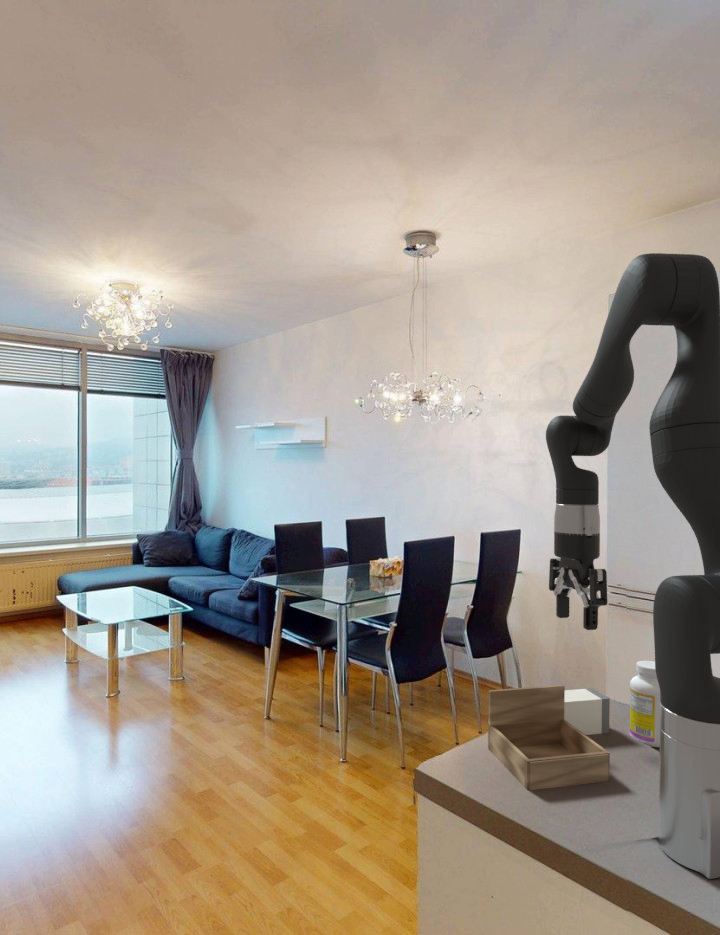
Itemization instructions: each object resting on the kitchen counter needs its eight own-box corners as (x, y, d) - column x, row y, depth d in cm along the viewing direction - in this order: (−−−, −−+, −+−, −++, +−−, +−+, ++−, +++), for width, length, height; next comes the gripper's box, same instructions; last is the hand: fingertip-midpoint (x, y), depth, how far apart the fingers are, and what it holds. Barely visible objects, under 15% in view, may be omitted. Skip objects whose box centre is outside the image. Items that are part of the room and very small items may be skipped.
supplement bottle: (663, 733, 108) (664, 659, 108) (679, 750, 102) (680, 672, 102) (624, 730, 109) (625, 657, 109) (637, 748, 102) (638, 670, 102)
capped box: (556, 741, 104) (557, 702, 104) (541, 728, 109) (541, 692, 109) (609, 736, 107) (609, 698, 107) (592, 724, 112) (592, 688, 112)
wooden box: (610, 784, 90) (611, 716, 90) (527, 794, 87) (528, 723, 87) (561, 744, 103) (562, 684, 103) (488, 752, 100) (488, 690, 100)
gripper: (536, 526, 114) (536, 614, 114) (580, 534, 100) (580, 634, 100) (573, 526, 116) (572, 613, 116) (621, 533, 102) (621, 632, 102)
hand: (576, 623), depth 108 cm, fingers open, 8 cm apart
